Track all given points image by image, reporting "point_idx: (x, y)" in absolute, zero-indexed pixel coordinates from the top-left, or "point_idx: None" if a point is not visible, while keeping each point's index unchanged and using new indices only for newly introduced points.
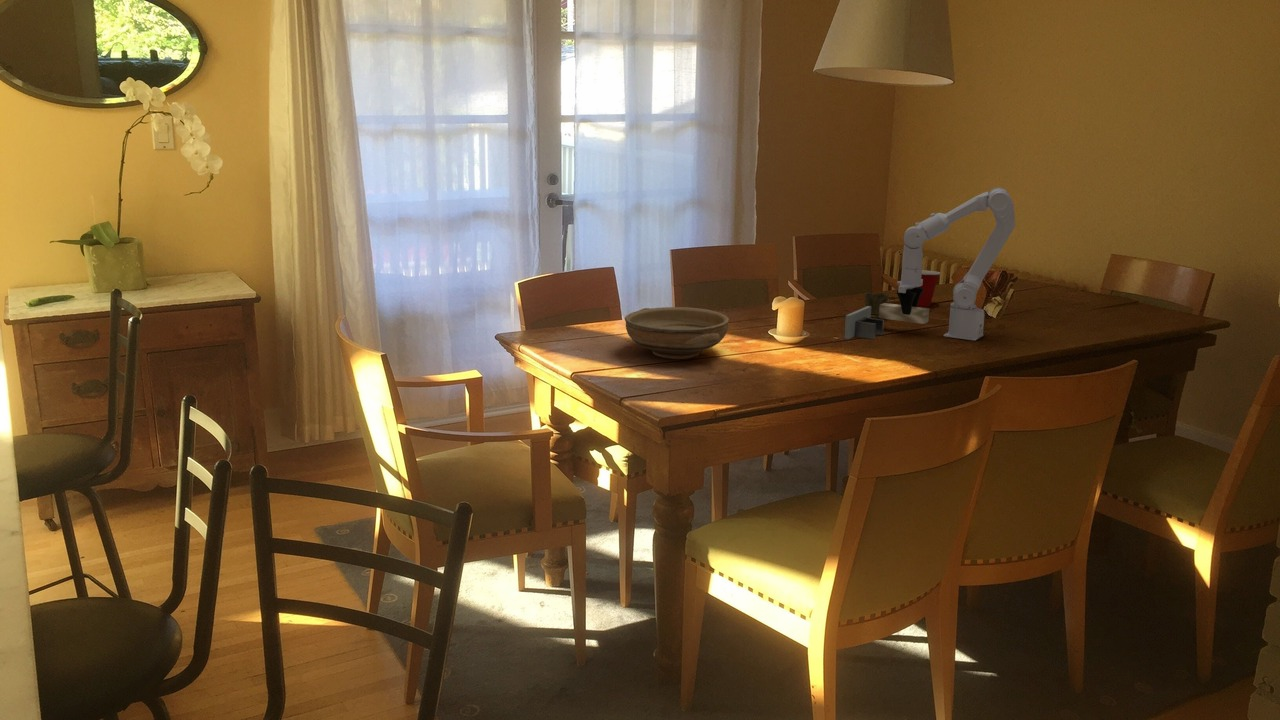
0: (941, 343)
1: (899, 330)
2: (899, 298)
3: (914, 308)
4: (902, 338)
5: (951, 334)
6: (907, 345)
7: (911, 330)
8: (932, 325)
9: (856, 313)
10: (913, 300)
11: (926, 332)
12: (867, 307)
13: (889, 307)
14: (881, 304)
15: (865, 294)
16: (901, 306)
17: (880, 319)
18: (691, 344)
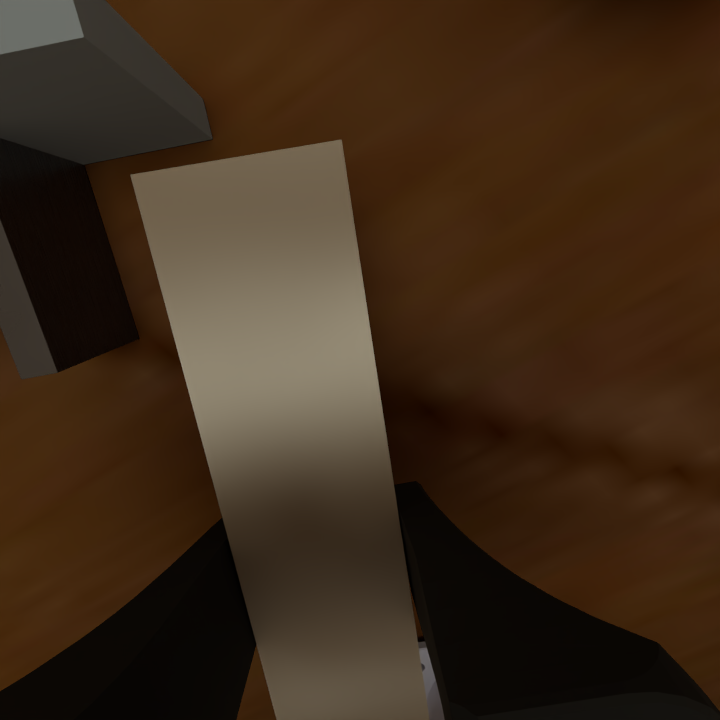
0: (244, 704)
1: None
2: (24, 684)
3: (310, 655)
4: (159, 496)
5: (432, 692)
6: (26, 609)
7: (431, 412)
8: (695, 433)
9: None
10: (434, 659)
11: (448, 514)
12: None
13: (185, 350)
14: (184, 179)
15: None
16: (170, 570)
17: (36, 335)
18: None
